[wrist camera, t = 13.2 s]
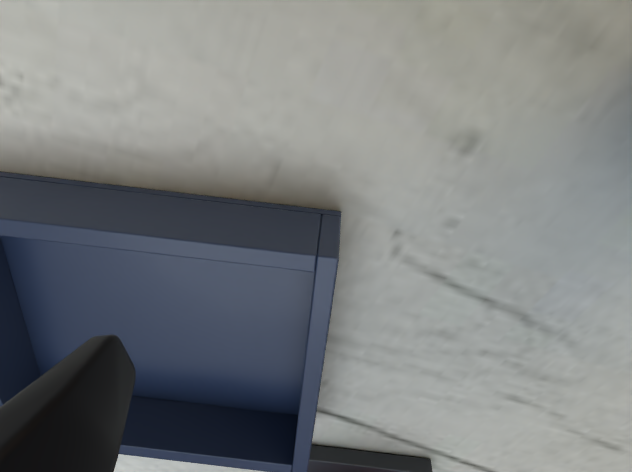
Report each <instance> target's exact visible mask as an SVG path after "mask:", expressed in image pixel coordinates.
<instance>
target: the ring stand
mask: <svg viewBox="0 0 632 472" xmlns="http://www.w3.org/2000/svg"><path fill="white" fill-rule="evenodd" d="M308 472H432V466H431V460H430V459H426V458H417V457H409V456H400V455H392V454H384V453H375V452H367V451H358V450H350V449H341V448H333V447H325V446H316V445H311V451H310V458H309V465H308Z"/></svg>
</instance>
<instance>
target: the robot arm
mask: <svg viewBox="0 0 632 472" xmlns="http://www.w3.org/2000/svg"><path fill="white" fill-rule="evenodd" d="M135 379H136V370H135V366H134V364H133V362H132V360H131V358H130V356H129V355H128V353H127V351H126V349H125V347H124V345H123V343H122V341H121V340H120V338H119V337H118V336H116V335H101V336H95V337H92V338H90V339H89V340H88V341H86V342H85V343H84V344H82V345H81V346H80V347H78V348H77V349H76V350H74V351H73V352H72V353H70V354H69V355H68V356H67V357H65V358H64V359H63V360H61V361H60V362H59V363H57V364H56V365H55V366H53V367H52V368H51V369H49V370H48V371H47V372H45V373H44V374H43V375H42V376H40V377H39V378H38V379H36V380H35V381H34V382H32V383H31V384H30V385H28V386H27V387H26V388H24V389H23V390H22V391H20V392H19V393H18V394H17V395H15V396H14V397H13V398H11V399H10V400H9V401H7V402H6V403H5V404H3V405H2V406H1V407H0V472H113V471H114V468H115V465H116V461H117V458H118V454H119V450H120V446H121V442H122V437H123V433H124V429H125V424H126V420H127V415H128V411H129V406H130V402H131V398H132V393H133V389H134V384H135Z"/></svg>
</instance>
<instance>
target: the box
mask: <svg viewBox="0 0 632 472" xmlns="http://www.w3.org/2000/svg"><path fill="white" fill-rule="evenodd" d="M340 227H341V212H340V211H332V210H324V209H315V208H307V207H298V206H289V205H281V204H272V203H264V202H255V201H247V200H238V199H229V198H221V197H212V196H204V195H195V194H186V193H178V192H169V191H161V190H152V189H144V188H135V187H126V186H118V185H109V184H101V183H92V182H83V181H75V180H66V179H58V178H49V177H41V176H32V175H23V174H15V173H6V172H0V407H1V406H2V405H3V404H5V403H6V402H7V401H9V400H10V399H11V398H13V397H14V396H15V395H17V394H18V393H19V392H20V391H22V390H23V389H24V388H26V387H27V386H28V385H30V384H31V383H32V382H34V381H35V380H36V379H38V378H39V377H40V376H42V375H43V374H44V373H45V372H47V371H48V370H49V369H51V368H52V367H53V366H55V365H56V364H57V363H59V362H60V361H61V360H63V359H64V358H65V357H67V356H68V355H69V354H70V353H72V352H73V351H74V350H76V349H77V348H78V347H80V346H81V345H82V344H84V343H85V342H86V341H88V340H89V339H90V338H92V337H95V336H101V335H116V336H118V337H119V338H120V340H121V341H122V343H123V345H124V347H125V349H126V351H127V353H128V355H129V356H130V358H131V360H132V362H133V364H134V366H135V370H136V379H135V384H134V389H133V393H132V398H131V402H130V406H129V411H128V415H127V420H126V424H125V429H124V433H123V437H122V442H121V446H120V450H119V454H124V455H132V456H140V457H149V458H157V459H166V460H174V461H183V462H191V463H199V464H208V465H216V466H225V467H233V468H241V469H250V470H258V471H267V472H308V465H309V458H310V451H311V445H312V438H313V431H314V424H315V417H316V411H317V404H318V397H319V390H320V384H321V377H322V370H323V363H324V356H325V350H326V343H327V336H328V329H329V323H330V316H331V309H332V302H333V295H334V289H335V282H336V275H337V268H338V262H339V247H340Z"/></svg>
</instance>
